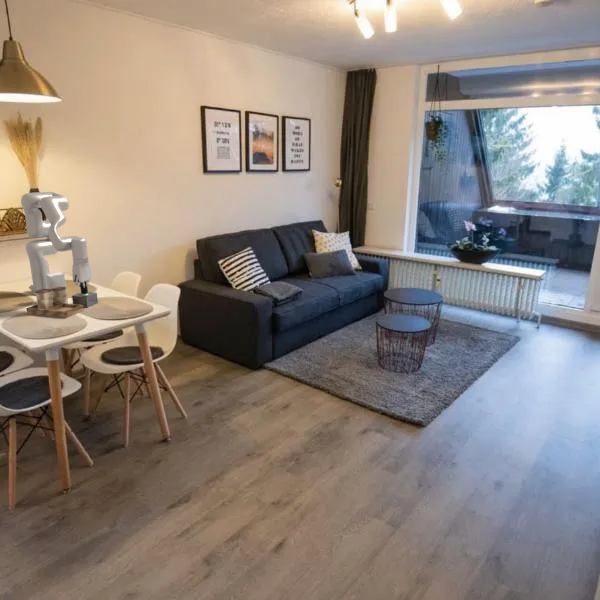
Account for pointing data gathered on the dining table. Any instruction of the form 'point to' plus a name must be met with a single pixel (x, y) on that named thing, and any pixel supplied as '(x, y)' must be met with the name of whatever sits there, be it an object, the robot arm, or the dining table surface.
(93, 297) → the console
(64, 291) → the block
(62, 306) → the tray
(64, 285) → the skincare box
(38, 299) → the block
